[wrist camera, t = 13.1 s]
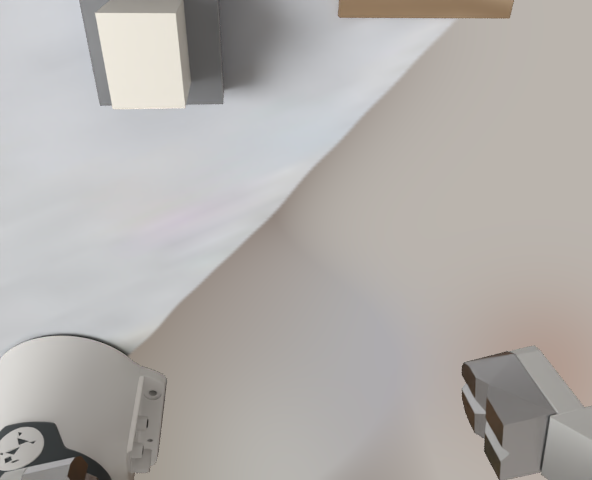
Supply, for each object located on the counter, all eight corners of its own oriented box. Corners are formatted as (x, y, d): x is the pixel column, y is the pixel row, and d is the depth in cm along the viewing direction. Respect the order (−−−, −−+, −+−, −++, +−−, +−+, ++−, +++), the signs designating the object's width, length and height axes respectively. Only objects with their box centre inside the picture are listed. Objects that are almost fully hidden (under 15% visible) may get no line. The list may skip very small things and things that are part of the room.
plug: (192, 73, 34) (185, 108, 29) (132, 73, 34) (112, 109, 28) (185, -8, 32) (175, 13, 26) (120, -9, 31) (95, 12, 25)
